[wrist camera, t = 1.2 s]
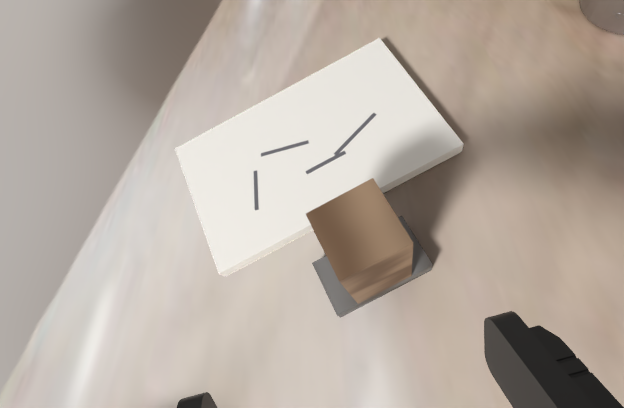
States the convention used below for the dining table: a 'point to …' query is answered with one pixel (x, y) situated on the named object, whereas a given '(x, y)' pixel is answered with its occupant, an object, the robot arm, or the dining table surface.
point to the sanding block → (364, 248)
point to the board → (310, 153)
